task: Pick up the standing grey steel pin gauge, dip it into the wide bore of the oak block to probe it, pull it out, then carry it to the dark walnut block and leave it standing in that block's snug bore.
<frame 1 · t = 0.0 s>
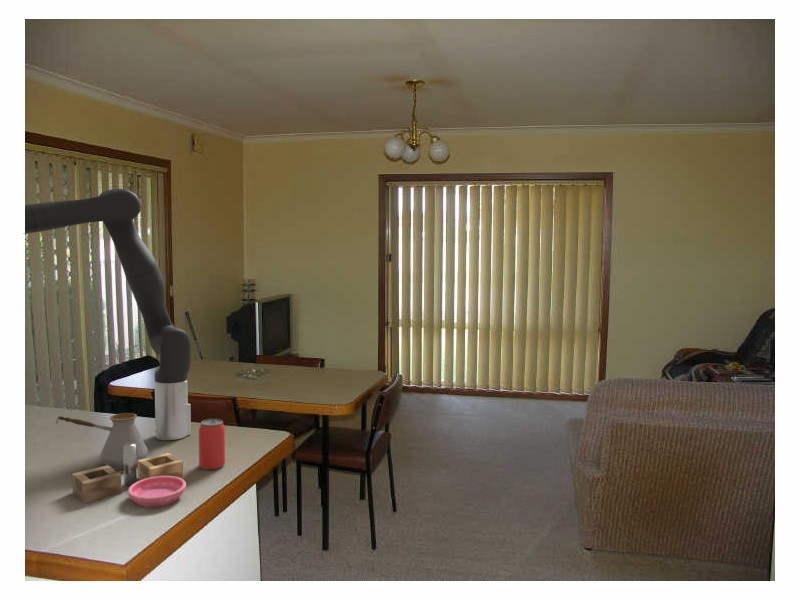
beer can: (212, 466, 160), on the kitchen counter
oak block: (160, 478, 151), on the kitchen counter
coffee pot: (104, 467, 157), on the kitchen counter
pin: (130, 484, 146), on the kitchen counter
walnut block: (97, 492, 141), on the kitchen counter
saucer: (157, 499, 139), on the kitchen counter
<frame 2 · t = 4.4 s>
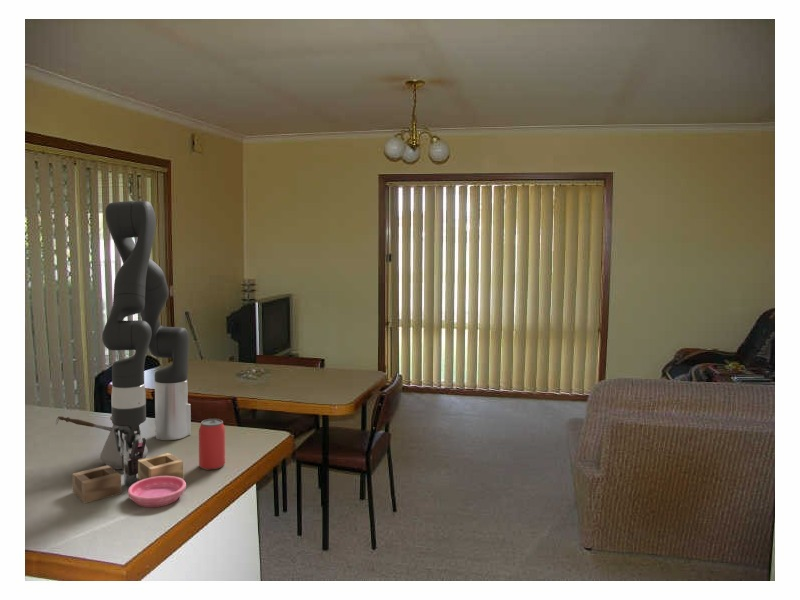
hand: (130, 472, 146), 3 cm above the kitchen counter, fingers closed on pin, 2 cm apart
pin: (130, 484, 146), on the kitchen counter, touching gripper
everything else where it was.
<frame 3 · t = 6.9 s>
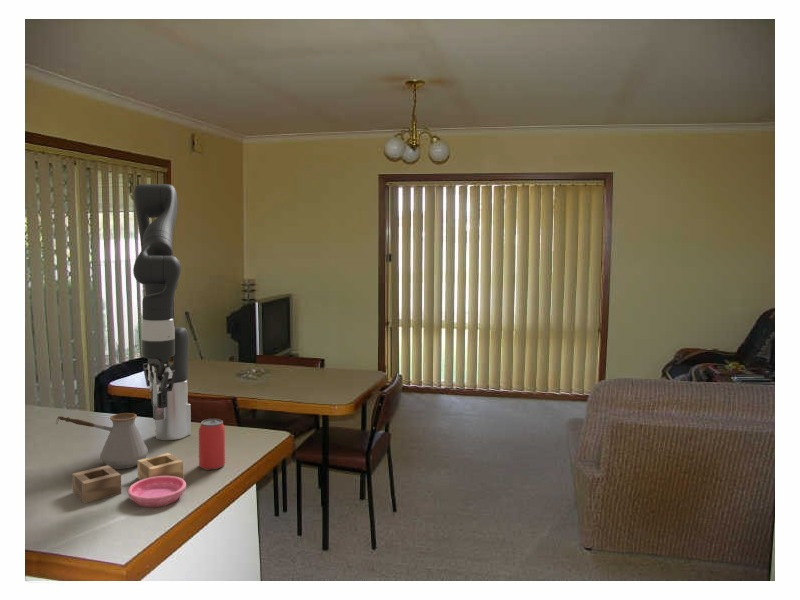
hand: (159, 405, 149), 19 cm above the kitchen counter, fingers closed on pin, 2 cm apart
pin: (159, 418, 149), point 15 cm above the kitchen counter, touching gripper
everything else where it was.
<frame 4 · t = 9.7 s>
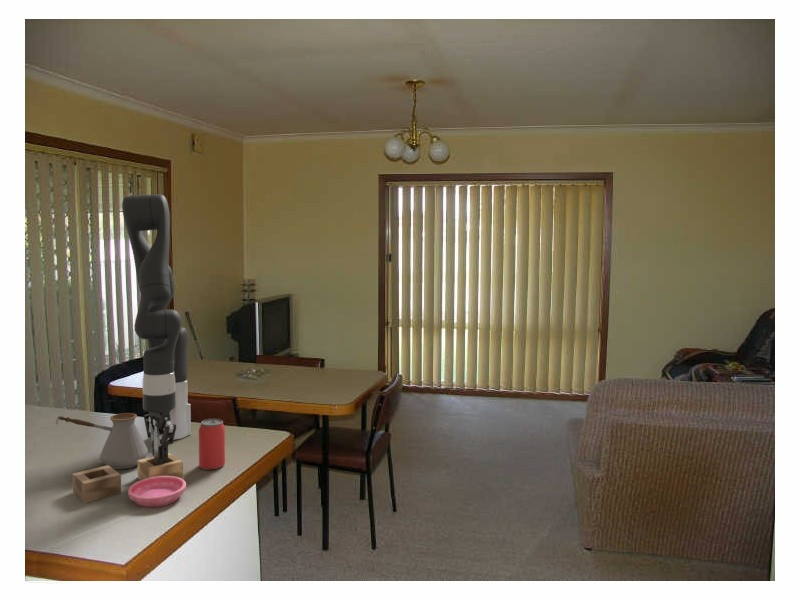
hand: (160, 457, 150), 5 cm above the kitchen counter, fingers closed on pin, 2 cm apart
pin: (160, 469, 150), point 2 cm above the kitchen counter, touching gripper
everything else where it was.
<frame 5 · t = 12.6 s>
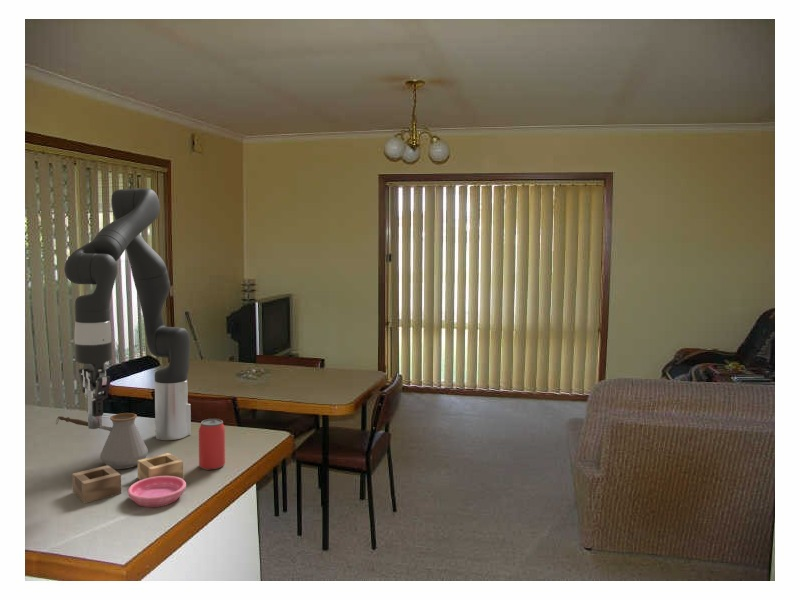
hand: (95, 414, 139), 19 cm above the kitchen counter, fingers closed on pin, 2 cm apart
pin: (95, 427, 140), point 16 cm above the kitchen counter, touching gripper
everything else where it was.
when the fingers open (5 cm above the kitchen counter, at t = 15.2 s): pin drops 2 cm, resting in walnut block.
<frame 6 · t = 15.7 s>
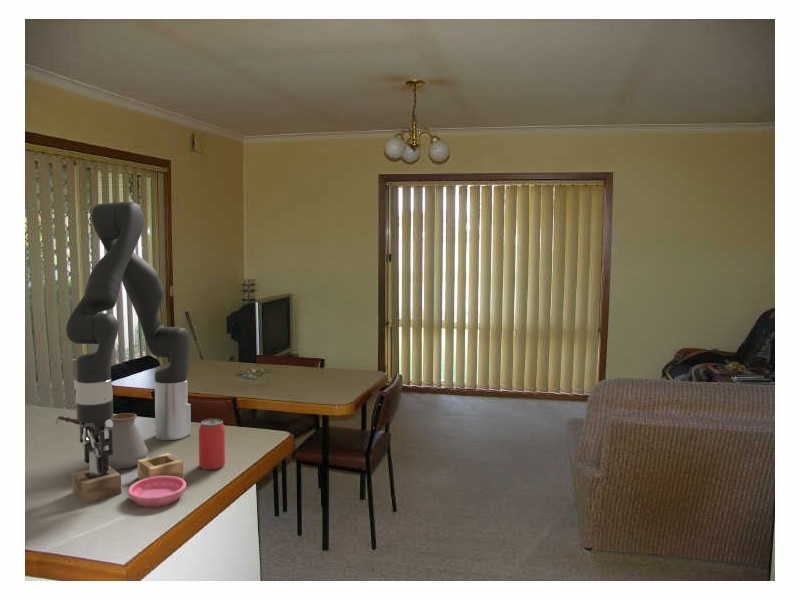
hand: (96, 466, 141), 6 cm above the kitchen counter, fingers open, 8 cm apart
pin: (96, 492, 141), resting in walnut block
everything else where it was.
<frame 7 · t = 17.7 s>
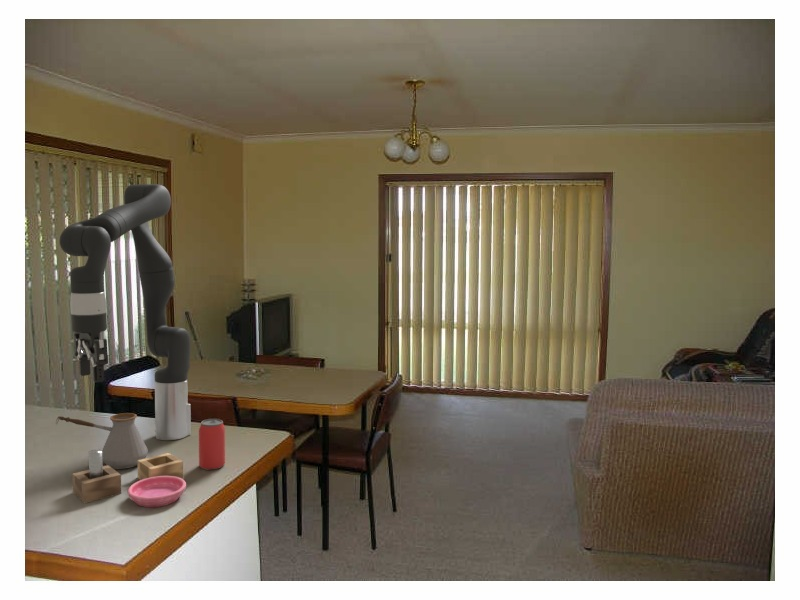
hand: (91, 378, 144), 26 cm above the kitchen counter, fingers open, 8 cm apart
nothing on the kitchen counter moved.
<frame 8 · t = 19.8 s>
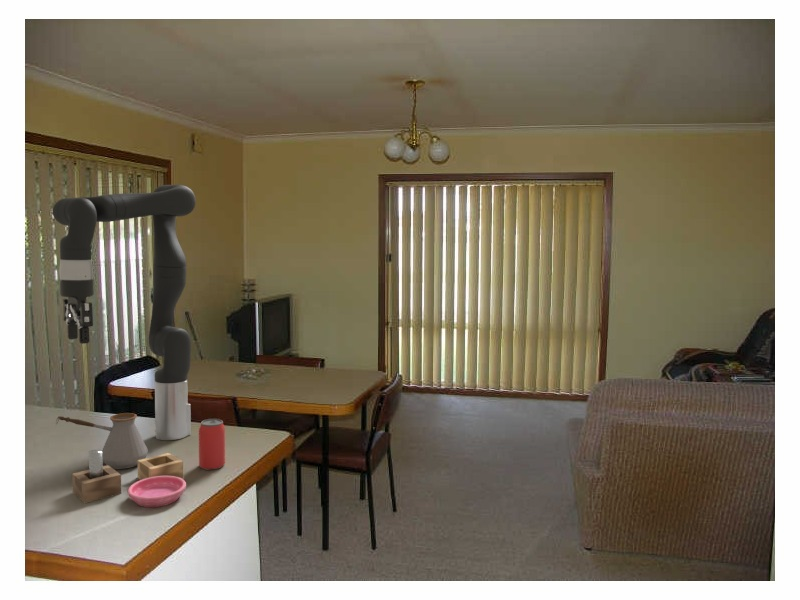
hand: (78, 341, 154), 33 cm above the kitchen counter, fingers open, 8 cm apart
nothing on the kitchen counter moved.
at the end: pin 0.1 cm off-centre on the walnut block, point 0.0 cm above the walnut block's base; the gripper is holding nothing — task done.
